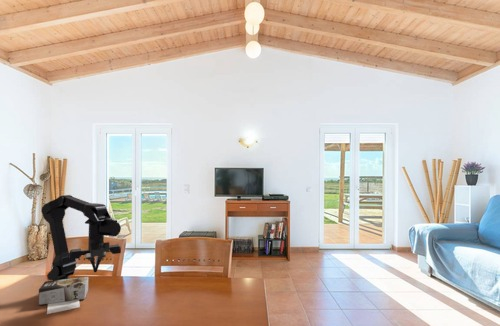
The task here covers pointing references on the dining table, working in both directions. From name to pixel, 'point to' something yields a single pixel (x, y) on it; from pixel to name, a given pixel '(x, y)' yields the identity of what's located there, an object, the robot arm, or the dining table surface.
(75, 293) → the coffee box
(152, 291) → the dining table surface
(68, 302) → the mat
